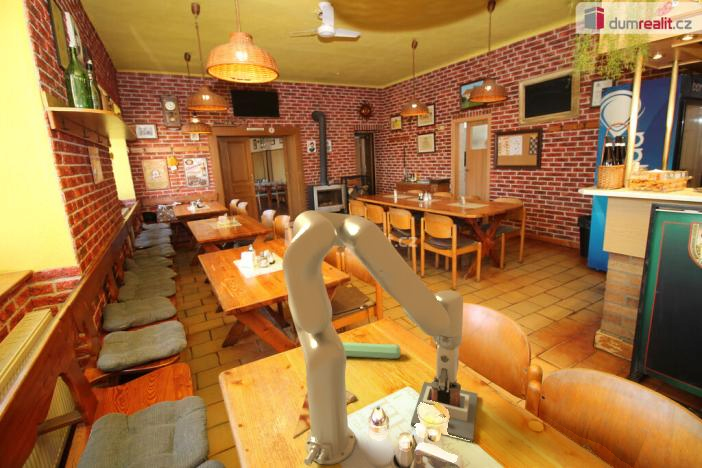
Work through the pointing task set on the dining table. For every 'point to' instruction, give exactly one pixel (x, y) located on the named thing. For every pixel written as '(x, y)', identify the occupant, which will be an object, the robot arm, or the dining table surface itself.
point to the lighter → (454, 392)
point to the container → (372, 350)
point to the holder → (453, 412)
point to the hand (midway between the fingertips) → (446, 390)
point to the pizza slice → (305, 417)
